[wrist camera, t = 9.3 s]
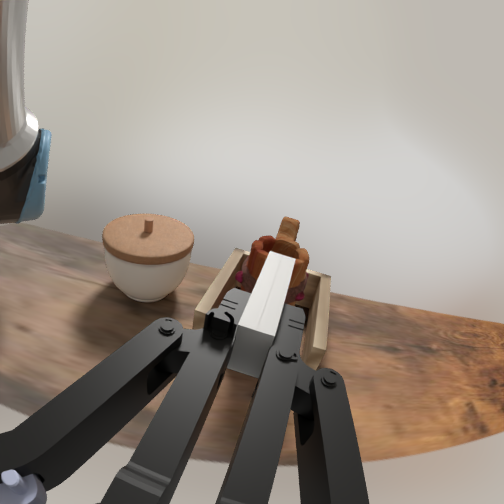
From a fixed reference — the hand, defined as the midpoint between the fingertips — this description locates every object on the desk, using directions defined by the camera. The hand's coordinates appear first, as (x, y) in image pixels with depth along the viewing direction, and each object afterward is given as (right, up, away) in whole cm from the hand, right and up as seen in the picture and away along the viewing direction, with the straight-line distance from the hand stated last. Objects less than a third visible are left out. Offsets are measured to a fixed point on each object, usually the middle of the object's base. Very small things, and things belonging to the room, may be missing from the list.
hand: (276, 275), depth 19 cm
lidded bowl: (-17, -4, +28) cm, 33 cm away
